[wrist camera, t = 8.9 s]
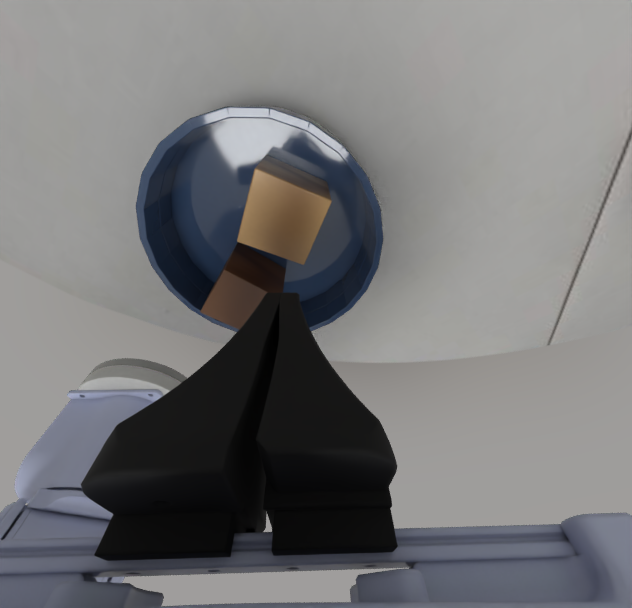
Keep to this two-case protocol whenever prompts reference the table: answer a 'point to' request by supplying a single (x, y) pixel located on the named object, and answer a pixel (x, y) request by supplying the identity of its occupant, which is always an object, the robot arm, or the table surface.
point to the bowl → (230, 199)
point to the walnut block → (242, 286)
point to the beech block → (283, 210)
